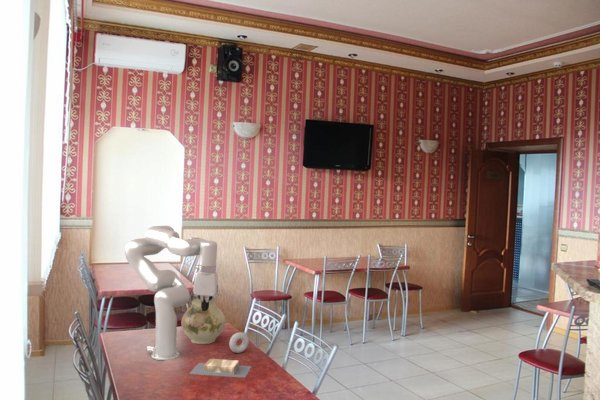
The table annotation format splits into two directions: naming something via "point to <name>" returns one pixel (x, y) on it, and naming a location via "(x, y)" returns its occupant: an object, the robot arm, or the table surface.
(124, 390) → the table surface
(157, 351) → the robot arm
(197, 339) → the pitcher
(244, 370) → the mat
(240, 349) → the donut
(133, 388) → the table surface
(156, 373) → the table surface
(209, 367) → the tan rectangular package
